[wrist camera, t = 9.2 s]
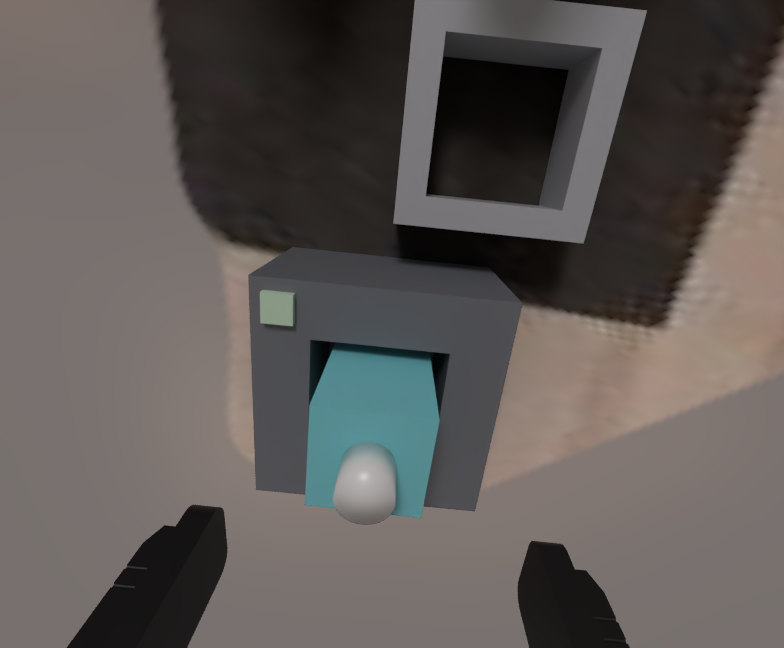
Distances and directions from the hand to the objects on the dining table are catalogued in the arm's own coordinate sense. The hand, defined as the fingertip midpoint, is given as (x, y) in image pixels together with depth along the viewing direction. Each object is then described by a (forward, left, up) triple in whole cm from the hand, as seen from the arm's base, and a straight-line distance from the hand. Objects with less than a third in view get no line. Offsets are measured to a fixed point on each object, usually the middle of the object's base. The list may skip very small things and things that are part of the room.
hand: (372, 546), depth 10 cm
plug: (0, 0, -11) cm, 11 cm away
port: (0, 0, -12) cm, 12 cm away
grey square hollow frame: (-4, -11, -12) cm, 17 cm away
